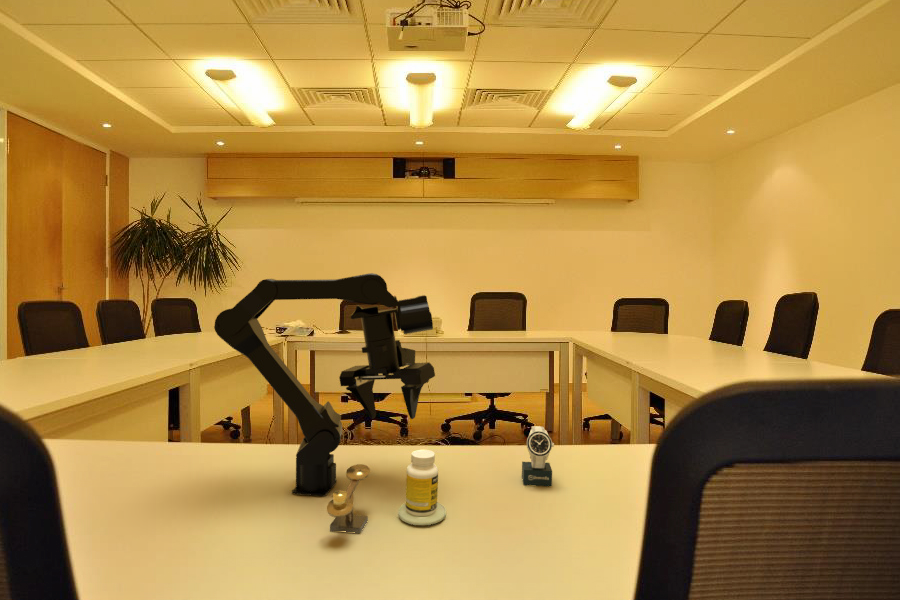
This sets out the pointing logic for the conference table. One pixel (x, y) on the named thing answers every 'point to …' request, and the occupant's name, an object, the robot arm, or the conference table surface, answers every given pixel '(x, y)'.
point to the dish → (422, 520)
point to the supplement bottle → (422, 484)
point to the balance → (348, 503)
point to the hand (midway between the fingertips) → (392, 418)
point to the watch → (538, 458)
